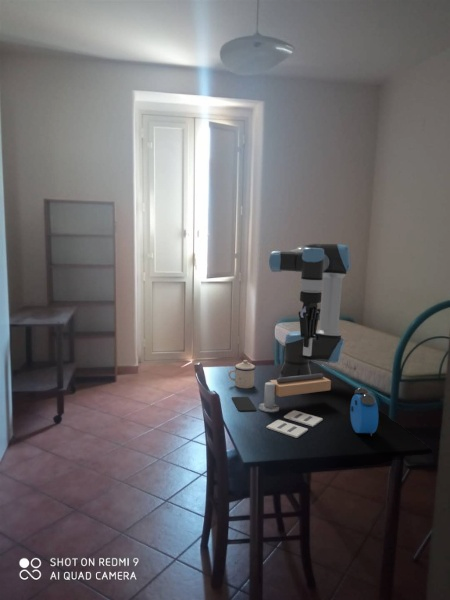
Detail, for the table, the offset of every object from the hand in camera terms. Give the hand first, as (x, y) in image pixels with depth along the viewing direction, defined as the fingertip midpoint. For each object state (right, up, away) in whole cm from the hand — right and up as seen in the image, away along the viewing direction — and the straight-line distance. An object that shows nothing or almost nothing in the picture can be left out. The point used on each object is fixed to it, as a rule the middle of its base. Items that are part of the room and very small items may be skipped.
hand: (307, 355), depth 163 cm
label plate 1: (-8, -25, -6) cm, 27 cm away
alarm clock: (+18, -26, -6) cm, 33 cm away
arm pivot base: (-13, -22, +12) cm, 29 cm away
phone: (-23, -22, +16) cm, 35 cm away
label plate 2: (-1, -24, +3) cm, 24 cm away
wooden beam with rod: (-2, -21, +17) cm, 27 cm away
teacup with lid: (-23, -19, +39) cm, 48 cm away
